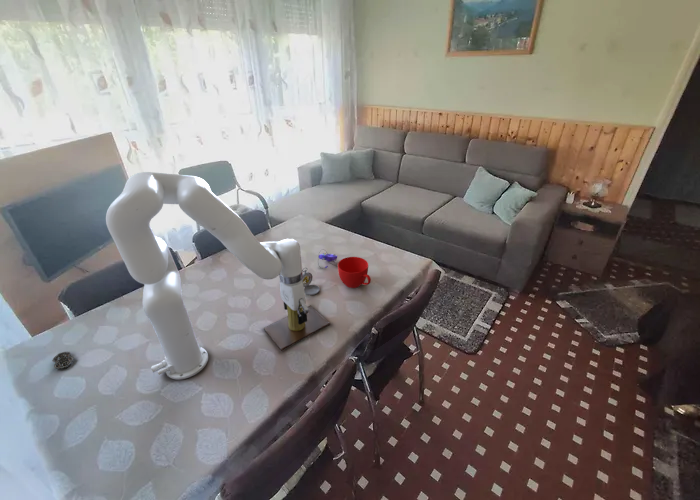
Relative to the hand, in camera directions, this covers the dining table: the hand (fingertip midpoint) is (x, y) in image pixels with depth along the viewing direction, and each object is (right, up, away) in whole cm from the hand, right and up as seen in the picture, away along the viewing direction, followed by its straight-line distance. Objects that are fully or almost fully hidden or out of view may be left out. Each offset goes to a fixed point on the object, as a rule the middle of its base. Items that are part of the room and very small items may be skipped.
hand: (295, 315), depth 115 cm
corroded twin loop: (-73, -13, -10) cm, 75 cm away
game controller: (+10, +16, +40) cm, 44 cm away
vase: (0, -4, +3) cm, 5 cm away
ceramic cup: (+22, +8, +25) cm, 34 cm away
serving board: (0, -5, +3) cm, 6 cm away
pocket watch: (+2, +6, +23) cm, 24 cm away
